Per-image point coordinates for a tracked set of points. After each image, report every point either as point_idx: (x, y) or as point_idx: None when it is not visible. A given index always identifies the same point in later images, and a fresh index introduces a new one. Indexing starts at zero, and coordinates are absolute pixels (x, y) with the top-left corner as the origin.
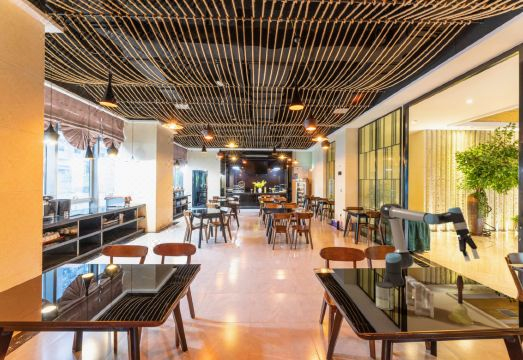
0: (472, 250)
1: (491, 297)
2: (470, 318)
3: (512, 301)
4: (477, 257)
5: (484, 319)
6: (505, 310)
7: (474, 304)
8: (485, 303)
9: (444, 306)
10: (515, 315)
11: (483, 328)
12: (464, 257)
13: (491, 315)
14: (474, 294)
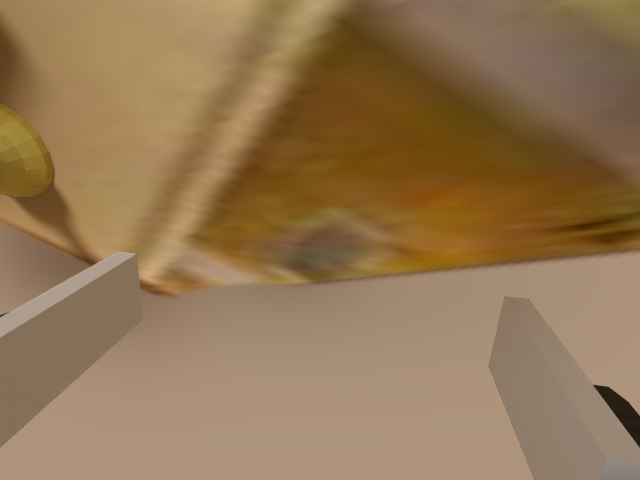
0: (577, 450)
1: (583, 137)
2: (23, 188)
3: (585, 234)
4: (498, 364)
5: (122, 210)
6: (352, 240)
7: (295, 115)
8: (384, 150)
9: (54, 10)
10: (318, 276)
11: (30, 230)
12: (66, 285)
13: (206, 217)
14: (572, 27)
